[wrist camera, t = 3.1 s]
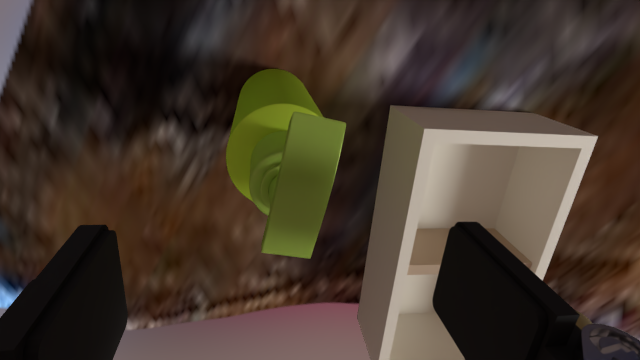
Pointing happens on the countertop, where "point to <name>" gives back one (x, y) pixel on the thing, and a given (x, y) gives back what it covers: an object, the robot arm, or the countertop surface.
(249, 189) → the soap dispenser
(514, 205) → the caddy
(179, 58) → the countertop surface
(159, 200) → the countertop surface
